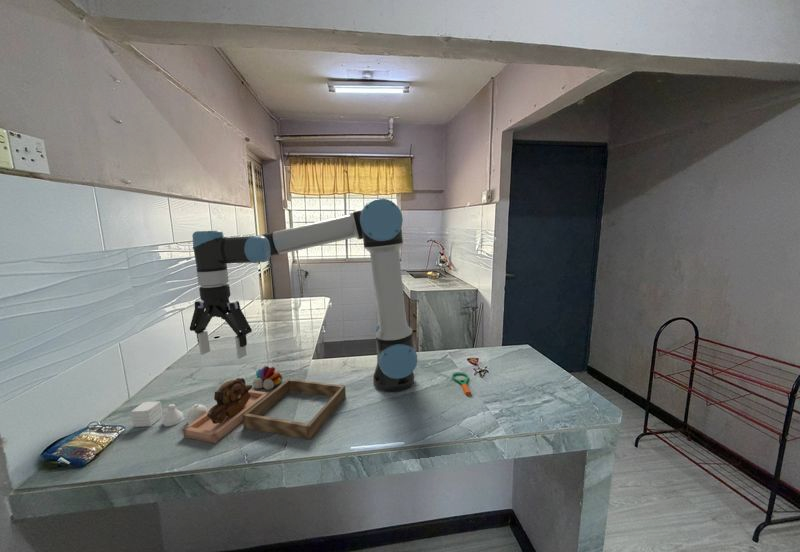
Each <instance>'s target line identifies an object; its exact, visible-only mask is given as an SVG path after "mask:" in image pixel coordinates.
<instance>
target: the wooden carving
mask: <svg viewBox="0 0 800 552" xmlns="http://www.w3.org/2000/svg"><path fill="white" fill-rule="evenodd" d="M252 388H253V384H250V385H249V384H248V385H246V381H245V379H244V378H243V377H241V378H240V377H237V378H235V379H230V380H228V381H226V382H224V383H223V384H221V385H220V387H219V388H218V390H216V391H215V392H214V394H213V395H214V401H216V403H217V404H215V405H213V406H212V407H210V409H209V410H208V411H209V412H208V411H207V412H208V414H207V416H208V417H209V418H210V419H211V420H212V422H213V424H217V423H222V422H223V421H224V419H225V418H226V417H228V416H233V415H235V414H237V413H238V412H239V411H240V410H242V409H243V407H244V406H245V405H246V404H247V402H248V400H249V398H250V396H251V394H249V392H248V391H249V390H252Z"/></svg>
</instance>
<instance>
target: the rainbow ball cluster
mask: <svg viewBox="0 0 800 552" xmlns="http://www.w3.org/2000/svg"><path fill="white" fill-rule="evenodd" d="M275 370H276V368H275V367H274V366H271V367H269V366H267V365H265V366H263V367H262V368H260V369H257V370H256V373H255V375H256V377H255V379H253V382H252V387H253V388H255V390H259V389H262V388H264V389H265V390H267V391H269V390H273V388H274V387H275V386H278V385H280V383H281V382H282V380H283V379H284V376H283V374H282V372H280V371H275Z"/></svg>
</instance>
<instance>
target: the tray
mask: <svg viewBox="0 0 800 552" xmlns="http://www.w3.org/2000/svg"><path fill="white" fill-rule="evenodd" d="M248 392H249V394H251V396H250V398H249V400H248V402H247V404H246V405H245V406H244V407H243V409H242V410H240V411H239V412H238V413H237V414H235V415H233V416H228V417H226V418H225V419H224V421H223V422H222V423H217V424H213V422H212V420H211V419H210V418H209V417H208V416H207V414H208V412H209V410H207V413H205V414H204V415H203V416H201V417H200V418H198V419H197V420H195V421H194V422H192V423H191V424H188V425H186V426H184V428H182V433H183V438H186V439H192V440H196V441H197V440H198V441H200V442H201V441H202V442H206V443H210V444H217V443H218V442H220V440H221V439H223V438H224V437H225V436H227V435H228V434H229V433H231V432H232V431H233V430H234V429H236V427H238V426H239V425H241V423H243V418H242V415H243V414H244V413H245V412H247V411H248V410H249V409H251V408H252V407H253V406H254V405H256V404H257V403H258V402H260V401H261V400H262V399H263V398H265V397H266V396H267V395H269V394H270V392H266V391H259V390H258V391H257V390H254V389H250V390H249V391H248Z"/></svg>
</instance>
